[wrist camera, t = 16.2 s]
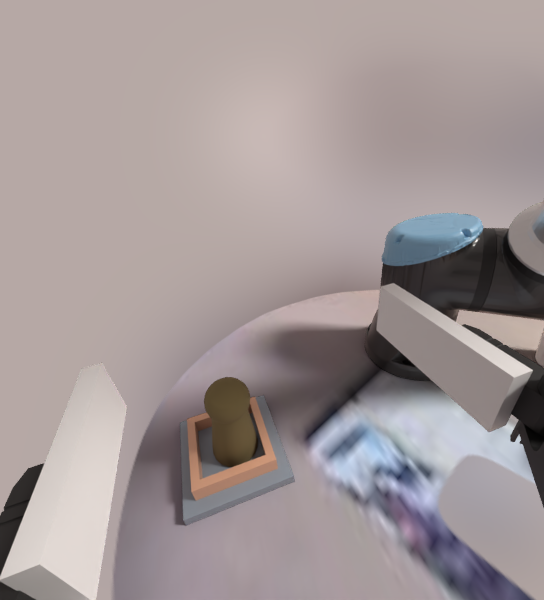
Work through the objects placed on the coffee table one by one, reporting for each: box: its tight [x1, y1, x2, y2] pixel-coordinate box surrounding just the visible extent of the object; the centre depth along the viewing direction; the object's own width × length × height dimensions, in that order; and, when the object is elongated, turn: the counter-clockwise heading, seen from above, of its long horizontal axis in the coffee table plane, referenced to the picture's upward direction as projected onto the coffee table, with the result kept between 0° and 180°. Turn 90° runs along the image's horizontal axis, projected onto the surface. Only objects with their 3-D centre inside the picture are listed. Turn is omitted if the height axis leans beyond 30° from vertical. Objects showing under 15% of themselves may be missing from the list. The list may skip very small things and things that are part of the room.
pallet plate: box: [180, 395, 294, 525], centre depth 37 cm, size 13×13×3 cm
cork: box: [204, 377, 258, 467], centre depth 35 cm, size 6×6×11 cm
